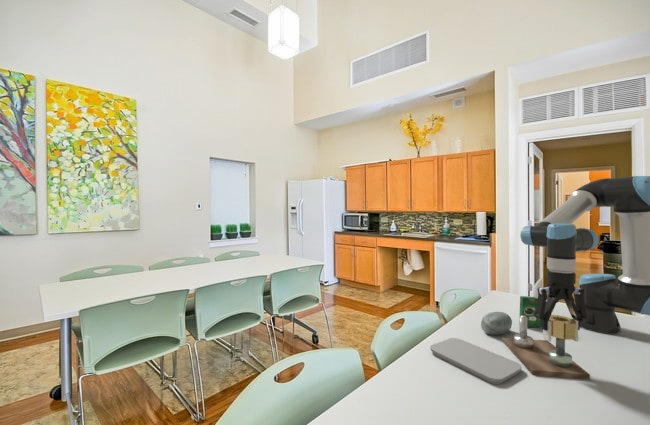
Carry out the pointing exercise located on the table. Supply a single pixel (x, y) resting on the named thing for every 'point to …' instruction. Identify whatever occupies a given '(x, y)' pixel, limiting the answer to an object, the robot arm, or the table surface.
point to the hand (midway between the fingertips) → (560, 339)
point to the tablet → (476, 360)
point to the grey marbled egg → (496, 323)
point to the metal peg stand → (560, 355)
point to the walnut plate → (543, 360)
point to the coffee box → (529, 311)
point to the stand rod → (523, 335)
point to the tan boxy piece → (563, 327)
